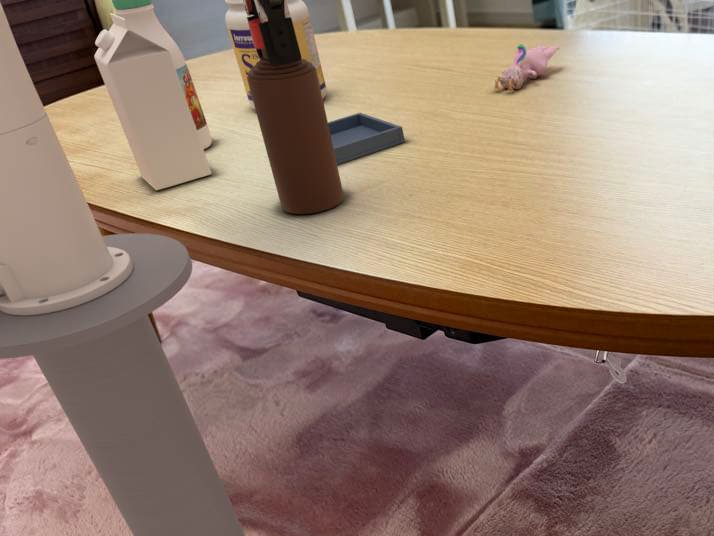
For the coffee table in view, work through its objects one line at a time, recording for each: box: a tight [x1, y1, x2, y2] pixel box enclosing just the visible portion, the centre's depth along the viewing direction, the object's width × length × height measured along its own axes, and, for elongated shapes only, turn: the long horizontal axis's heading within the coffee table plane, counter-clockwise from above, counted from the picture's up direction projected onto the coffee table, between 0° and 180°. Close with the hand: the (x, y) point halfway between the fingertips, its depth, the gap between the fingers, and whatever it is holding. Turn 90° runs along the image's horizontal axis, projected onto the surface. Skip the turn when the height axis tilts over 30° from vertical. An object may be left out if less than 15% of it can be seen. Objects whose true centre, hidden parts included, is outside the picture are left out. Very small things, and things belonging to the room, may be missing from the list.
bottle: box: [247, 49, 345, 215], centre depth 86 cm, size 7×7×18 cm
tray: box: [328, 112, 406, 166], centre depth 106 cm, size 13×11×2 cm
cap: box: [248, 18, 265, 49], centre depth 81 cm, size 4×4×2 cm
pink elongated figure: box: [494, 43, 560, 94], centre depth 123 cm, size 6×6×15 cm
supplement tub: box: [224, 0, 327, 110], centre depth 123 cm, size 12×12×17 cm
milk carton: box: [93, 12, 213, 191], centre depth 98 cm, size 7×7×19 cm
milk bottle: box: [111, 0, 213, 151], centre depth 107 cm, size 8×8×20 cm
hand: (279, 57), depth 82 cm, fingers closed on cap, 3 cm apart
